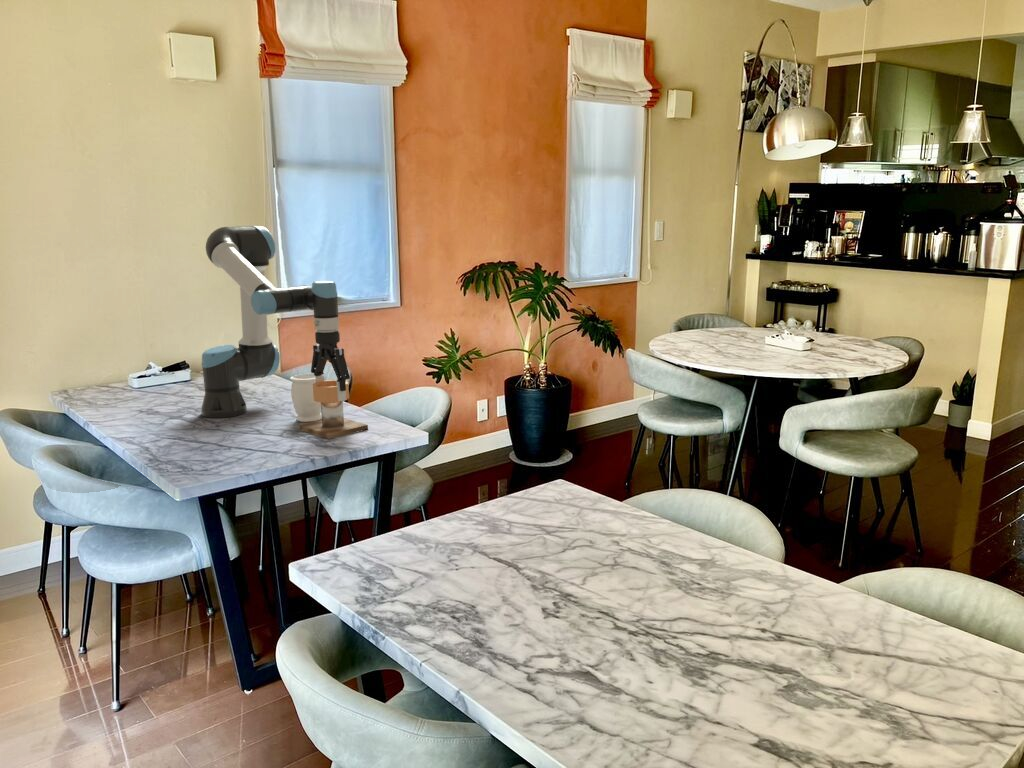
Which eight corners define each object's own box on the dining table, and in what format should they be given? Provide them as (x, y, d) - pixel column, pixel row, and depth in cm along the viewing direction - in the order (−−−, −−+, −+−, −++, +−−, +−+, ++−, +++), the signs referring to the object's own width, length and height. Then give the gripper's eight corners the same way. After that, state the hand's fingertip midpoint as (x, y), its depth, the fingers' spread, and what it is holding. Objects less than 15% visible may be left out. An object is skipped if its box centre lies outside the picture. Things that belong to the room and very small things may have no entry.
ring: (307, 399, 265) (306, 383, 264) (336, 393, 273) (335, 378, 271) (326, 404, 257) (325, 388, 256) (355, 398, 265) (354, 383, 264)
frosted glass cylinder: (317, 425, 267) (316, 398, 265) (336, 421, 272) (334, 394, 270) (330, 429, 262) (328, 401, 260) (348, 424, 267) (346, 397, 265)
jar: (329, 415, 285) (326, 373, 282) (319, 423, 275) (316, 379, 272) (299, 415, 286) (296, 373, 283) (288, 423, 276) (285, 379, 273)
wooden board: (299, 429, 268) (298, 425, 267) (338, 420, 278) (337, 416, 278) (328, 439, 256) (328, 434, 256) (368, 429, 266) (367, 424, 266)
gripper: (296, 328, 266) (301, 394, 270) (338, 335, 250) (342, 405, 254) (316, 325, 271) (321, 390, 275) (358, 332, 255) (362, 401, 259)
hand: (331, 398), depth 265 cm, fingers closed on ring, 11 cm apart
